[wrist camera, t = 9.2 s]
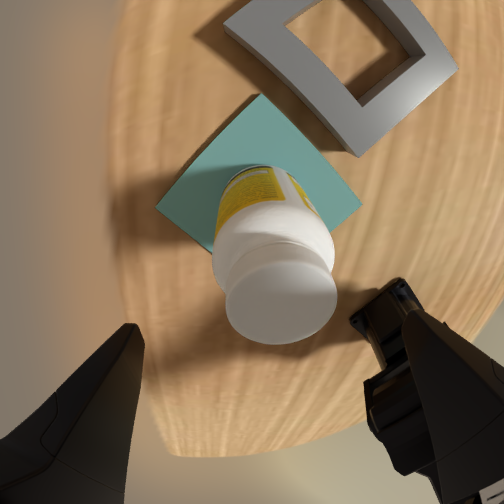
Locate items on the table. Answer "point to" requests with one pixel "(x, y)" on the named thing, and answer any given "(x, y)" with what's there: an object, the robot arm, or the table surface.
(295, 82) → the socket block
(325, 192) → the mat
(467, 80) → the table surface
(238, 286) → the supplement bottle
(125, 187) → the table surface
